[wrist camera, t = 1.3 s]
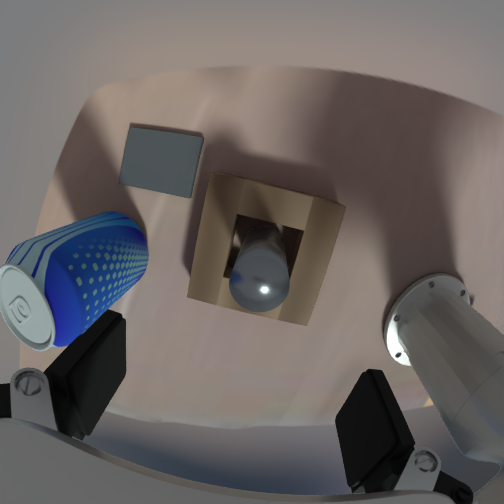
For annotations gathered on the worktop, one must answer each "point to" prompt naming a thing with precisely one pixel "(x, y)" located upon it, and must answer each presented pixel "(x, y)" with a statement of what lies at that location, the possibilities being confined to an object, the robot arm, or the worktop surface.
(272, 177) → the worktop surface
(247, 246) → the rod
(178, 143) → the mat
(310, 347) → the worktop surface
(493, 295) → the worktop surface
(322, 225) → the pocket block
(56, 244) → the beer can
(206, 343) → the worktop surface
